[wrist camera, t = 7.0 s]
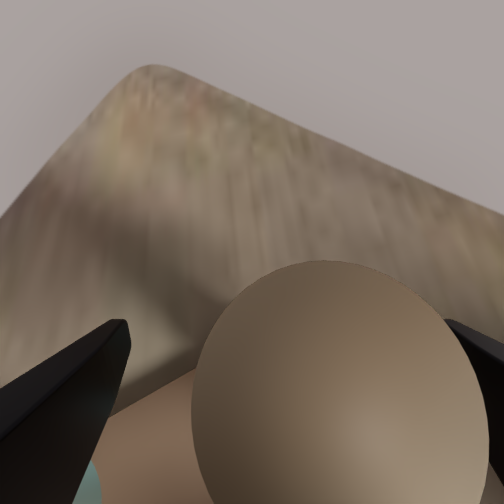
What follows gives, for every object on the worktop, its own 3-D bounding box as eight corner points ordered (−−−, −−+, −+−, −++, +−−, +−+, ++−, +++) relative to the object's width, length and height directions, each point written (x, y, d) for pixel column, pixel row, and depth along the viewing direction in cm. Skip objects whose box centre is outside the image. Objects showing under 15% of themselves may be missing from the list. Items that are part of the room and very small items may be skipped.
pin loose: (311, 372, 16) (541, 394, 4) (267, 425, 15) (372, 705, 3) (263, 326, 16) (318, 214, 4) (218, 374, 16) (128, 404, 3)
